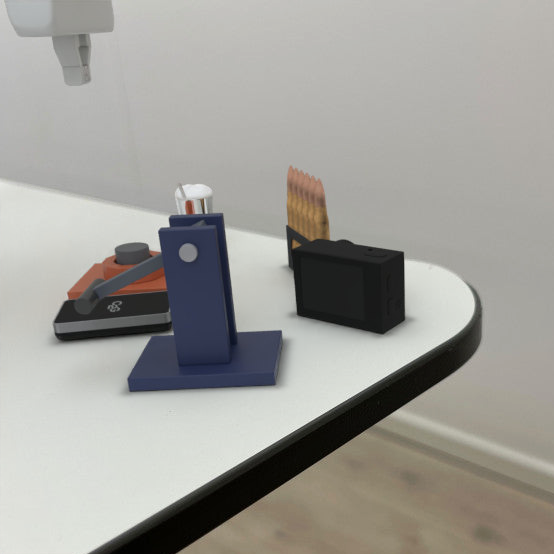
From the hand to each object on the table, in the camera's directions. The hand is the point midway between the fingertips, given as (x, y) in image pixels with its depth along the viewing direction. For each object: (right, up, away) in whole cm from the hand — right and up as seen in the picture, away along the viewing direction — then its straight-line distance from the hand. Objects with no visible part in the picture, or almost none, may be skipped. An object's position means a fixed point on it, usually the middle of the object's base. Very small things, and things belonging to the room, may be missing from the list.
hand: (78, 84), depth 77 cm
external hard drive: (+4, -24, 0) cm, 25 cm away
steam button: (+4, -17, +7) cm, 19 cm away
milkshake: (+8, -15, +20) cm, 26 cm away
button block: (+4, -20, +8) cm, 22 cm away
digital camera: (+28, -23, 0) cm, 36 cm away
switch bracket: (+15, -28, -10) cm, 33 cm away
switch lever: (+11, -21, -13) cm, 27 cm away
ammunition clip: (+23, -18, +11) cm, 31 cm away
